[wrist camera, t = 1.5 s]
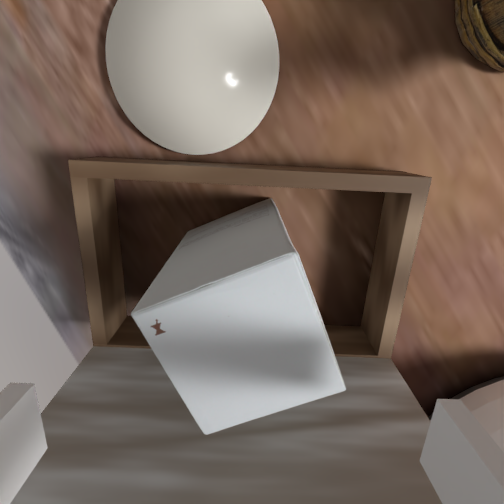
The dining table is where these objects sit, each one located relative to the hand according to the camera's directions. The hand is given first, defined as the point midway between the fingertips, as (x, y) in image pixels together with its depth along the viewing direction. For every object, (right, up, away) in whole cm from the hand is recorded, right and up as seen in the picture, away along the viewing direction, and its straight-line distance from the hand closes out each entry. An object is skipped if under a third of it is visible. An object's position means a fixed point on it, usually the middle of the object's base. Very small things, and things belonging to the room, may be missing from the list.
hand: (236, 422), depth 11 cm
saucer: (-3, +18, +10) cm, 21 cm away
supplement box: (0, +6, +15) cm, 16 cm away
